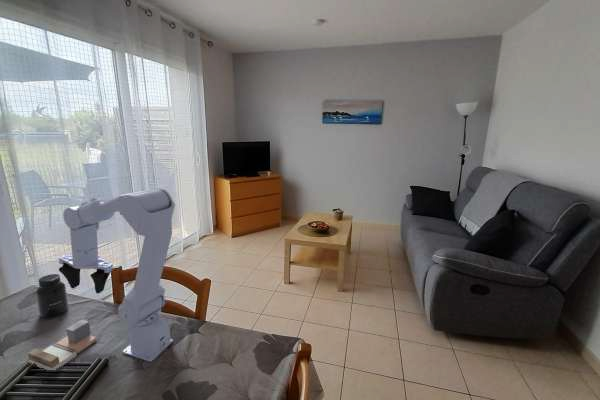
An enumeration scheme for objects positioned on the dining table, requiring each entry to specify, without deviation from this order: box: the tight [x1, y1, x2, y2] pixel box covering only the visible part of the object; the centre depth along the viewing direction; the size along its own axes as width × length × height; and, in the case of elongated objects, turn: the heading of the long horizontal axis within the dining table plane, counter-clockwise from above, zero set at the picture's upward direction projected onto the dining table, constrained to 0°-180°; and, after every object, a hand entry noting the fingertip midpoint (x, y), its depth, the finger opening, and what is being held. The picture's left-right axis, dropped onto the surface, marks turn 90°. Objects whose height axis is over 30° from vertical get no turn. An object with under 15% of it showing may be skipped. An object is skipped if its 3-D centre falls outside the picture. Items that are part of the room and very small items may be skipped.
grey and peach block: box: [55, 319, 97, 354], centre depth 74 cm, size 8×5×5 cm
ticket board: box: [27, 343, 78, 370], centre depth 69 cm, size 8×6×3 cm
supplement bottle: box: [35, 273, 69, 319], centre depth 85 cm, size 7×7×12 cm
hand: (87, 289), depth 80 cm, fingers open, 7 cm apart
